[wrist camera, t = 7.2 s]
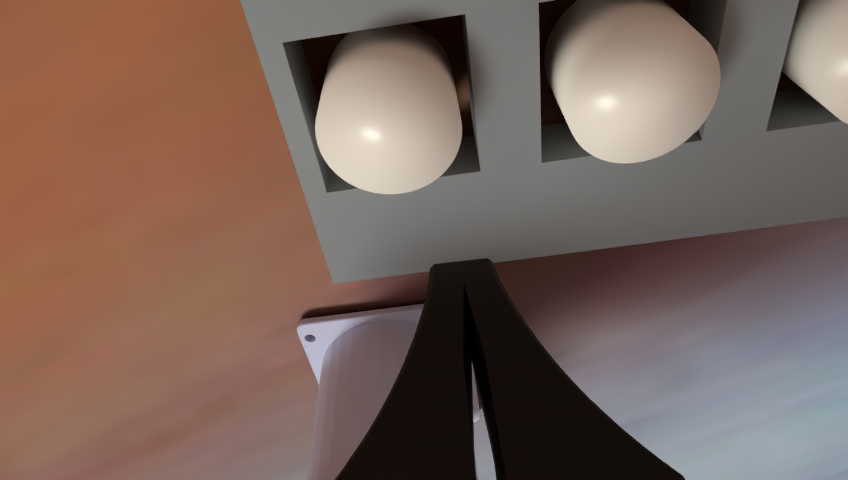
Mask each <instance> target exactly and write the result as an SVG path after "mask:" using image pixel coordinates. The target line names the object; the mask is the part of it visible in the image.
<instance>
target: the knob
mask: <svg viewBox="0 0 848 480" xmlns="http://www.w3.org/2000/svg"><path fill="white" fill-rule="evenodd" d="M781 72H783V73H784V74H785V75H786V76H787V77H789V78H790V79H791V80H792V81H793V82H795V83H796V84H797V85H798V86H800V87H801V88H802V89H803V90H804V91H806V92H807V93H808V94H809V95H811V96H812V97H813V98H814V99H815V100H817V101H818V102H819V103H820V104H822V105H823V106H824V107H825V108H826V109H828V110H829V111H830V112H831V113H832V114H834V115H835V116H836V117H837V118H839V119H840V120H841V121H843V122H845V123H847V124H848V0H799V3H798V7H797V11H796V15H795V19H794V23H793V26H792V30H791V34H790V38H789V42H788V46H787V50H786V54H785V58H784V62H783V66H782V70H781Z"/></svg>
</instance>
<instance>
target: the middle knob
mask: <svg viewBox="0 0 848 480" xmlns="http://www.w3.org/2000/svg"><path fill="white" fill-rule="evenodd" d="M544 69H545V74H546V78H547V81H548V83H549V85H550V88H551V90H552V92H553V94H554V96H555V98H556V100H557V103H558V105H559V107H560V109H561V111H562V113H563V115H564V118H565V120H566V122H567V124H568V126H569V128H570V131H571V133H572V135H573V136H574V138H575V140H576V141H577V142H578V144H579V145H580V146H581V147H582V148H583V149H584V150H585V151H587V152H588V153H589V154H591V155H593V156H594V157H597V158H599V159H601V160H604V161H608V162H613V163H626V164H628V163H638V162H643V161H647V160H651V159H654V158H657V157H659V156H662V155H664V154H666V153H668V152H670V151H672V150H673V149H675V148H676V147H678V146H680V145H681V144H682V143H684V142H685V141H686V140H687V139H689V138H690V137H691V136H692V135H693V134H694V133H695V132H696V131H697V130H698V129H699V128H700V126H701V125H702V124H703V123H704V121H705V120H706V118H707V117H708V116H709V114H710V112H711V110H712V108H713V106H714V104H715V102H716V99H717V96H718V92H719V88H720V80H721V72H720V65H719V60H718V58H717V55H716V52H715V51H714V49H713V47H712V46H711V44H710V43H709V42H708V41H707V40H706V39H705V38H704V37H703V36H702V35H701V34H700V33H699V32H698V31H697V30H695V29H694V28H693V27H692V26H691V25H690V24H689V23H688V22H687V21H686V20H685V19H683V18H682V17H681V16H680V15H679V14H678V13H677V12H676V11H675V10H674V9H673V8H671V7H670V6H669V5H668V4H667V3H666V2H665V1H664V0H577V1H576V2H575V3H573V4H572V5H571V6H570V7H569V8H568V9H567V10H566V11H565V12H564V13H563V14H562V16H561V17H560V18H559V19H558V21H557V22H556V24H555V26H554V27H553V29H552V31H551V33H550V35H549V38H548V41H547V44H546V48H545V53H544Z"/></svg>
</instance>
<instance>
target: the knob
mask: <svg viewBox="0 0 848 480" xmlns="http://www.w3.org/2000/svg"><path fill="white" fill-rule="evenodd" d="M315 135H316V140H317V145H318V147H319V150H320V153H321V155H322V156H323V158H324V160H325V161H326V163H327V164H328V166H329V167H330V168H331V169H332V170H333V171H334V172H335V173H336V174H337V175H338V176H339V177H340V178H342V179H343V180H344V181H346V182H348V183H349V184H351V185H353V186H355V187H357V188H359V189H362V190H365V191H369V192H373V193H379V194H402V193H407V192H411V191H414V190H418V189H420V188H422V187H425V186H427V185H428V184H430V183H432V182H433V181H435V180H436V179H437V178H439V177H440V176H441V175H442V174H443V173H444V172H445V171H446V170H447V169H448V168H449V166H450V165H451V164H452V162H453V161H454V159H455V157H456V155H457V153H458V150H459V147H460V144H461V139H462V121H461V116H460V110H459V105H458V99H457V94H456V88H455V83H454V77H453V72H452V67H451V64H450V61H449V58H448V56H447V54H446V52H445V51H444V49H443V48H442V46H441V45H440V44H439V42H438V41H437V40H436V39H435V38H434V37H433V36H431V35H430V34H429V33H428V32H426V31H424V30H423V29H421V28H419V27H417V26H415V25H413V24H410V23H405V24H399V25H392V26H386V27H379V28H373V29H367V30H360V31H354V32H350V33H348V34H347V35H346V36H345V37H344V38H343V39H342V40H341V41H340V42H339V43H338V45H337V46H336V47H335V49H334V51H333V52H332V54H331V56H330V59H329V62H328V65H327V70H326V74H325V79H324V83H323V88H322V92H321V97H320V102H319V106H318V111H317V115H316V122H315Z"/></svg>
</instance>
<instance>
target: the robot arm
mask: <svg viewBox="0 0 848 480" xmlns="http://www.w3.org/2000/svg"><path fill="white" fill-rule="evenodd" d="M297 333H298V335H299V338H300V340H301V343H302V345H303V347H304V350H305V352H306V355H307V357H308V360H309V362H310V364H311V367H312V369H313V372H314V374H315V377H316V379H317V381H318V384H319V390H318V398H317V407H316V415H315V423H314V431H313V440H312V448H311V456H310V464H309V473H308V480H478V478H477V469H476V460H475V451H474V428H473V423H474V422H476V421H478V420H479V419H480V411H479V404H478V397H477V390H476V383H475V378H476V382H477V386H478V391H479V395H480V400H481V404H482V408H483V413H484V417H485V422H486V426H487V430H488V435H489V439H490V443H491V448H492V454H493V459H494V464H495V471H496V479H497V480H685V478H684V477H683V476H682V475H681V474H680V473H678V472H677V471H675V470H674V469H673V468H671V467H670V466H669V465H667V464H666V463H665V462H663V461H662V460H660V459H659V458H658V457H657V456H655V455H654V454H653V453H651V452H650V451H649V450H648V449H646V448H645V447H644V446H642V445H641V444H640V443H639V442H638V441H636V440H635V439H634V438H633V437H632V436H630V435H629V434H628V433H627V432H626V431H624V430H623V429H622V428H621V427H620V426H619V425H617V424H616V423H615V422H614V421H613V420H612V419H611V418H610V417H609V416H608V415H607V414H606V413H604V412H603V411H602V410H601V409H600V408H599V407H598V406H597V405H596V404H595V403H594V402H593V401H591V400H590V399H589V398H588V397H587V396H586V395H585V394H584V392H583V391H582V390H581V389H580V388H579V387H578V386H577V385H576V384H575V383H574V382H573V381H572V380H571V379H570V378H569V377H568V375H567V374H566V373H565V372H564V371H563V370H562V369H561V368H560V367H559V365H558V364H557V363H556V362H555V361H554V359H553V358H552V357H551V356H550V355H549V353H548V352H547V351H546V349H545V348H544V347H543V346H542V344H541V343H540V342H539V340H538V339H537V338H536V336H535V335H534V334H533V332H532V331H531V330H530V328H529V327H528V325H527V324H526V322H525V321H524V319H523V318H522V316H521V315H520V313H519V312H518V310H517V309H516V307H515V306H514V304H513V302H512V301H511V299H510V297H509V296H508V294H507V292H506V290H505V288H504V287H503V285H502V283H501V281H500V279H499V277H498V275H497V272H496V270H495V268H494V265H493V262H492V261H491V260H489V259H488V258H483V259H474V260H465V261H456V262H447V263H438V264H434V265H433V266H432V267H431V268H430V277H429V284H428V289H427V294H426V298H425V302H424V304H417V305H410V306H402V307H394V308H386V309H378V310H370V311H362V312H354V313H346V314H339V315H331V316H323V317H315V318H307V319H303V320H301V321H299V323H298V325H297ZM309 335H313V336H309ZM474 373H475V376H474Z"/></svg>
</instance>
